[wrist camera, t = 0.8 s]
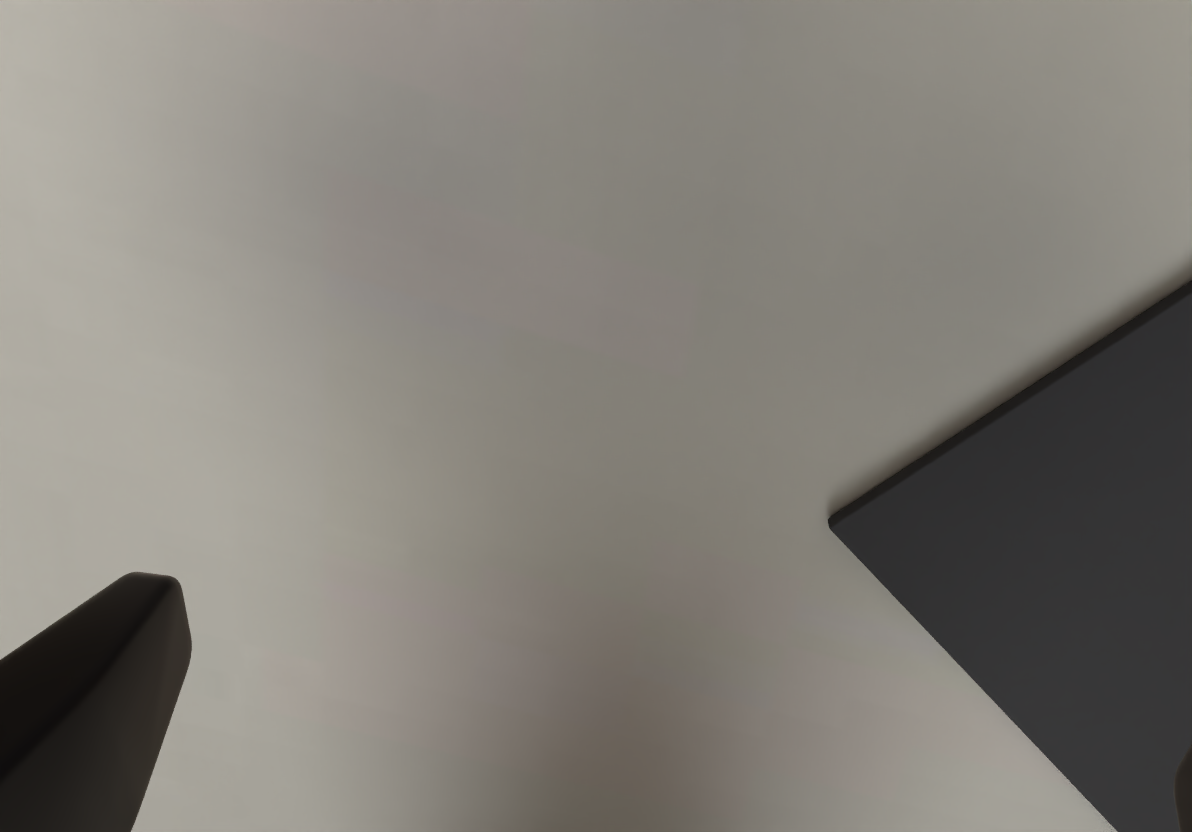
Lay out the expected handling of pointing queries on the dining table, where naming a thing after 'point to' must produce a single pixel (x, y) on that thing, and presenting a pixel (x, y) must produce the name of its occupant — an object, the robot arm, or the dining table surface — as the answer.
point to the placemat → (1065, 560)
